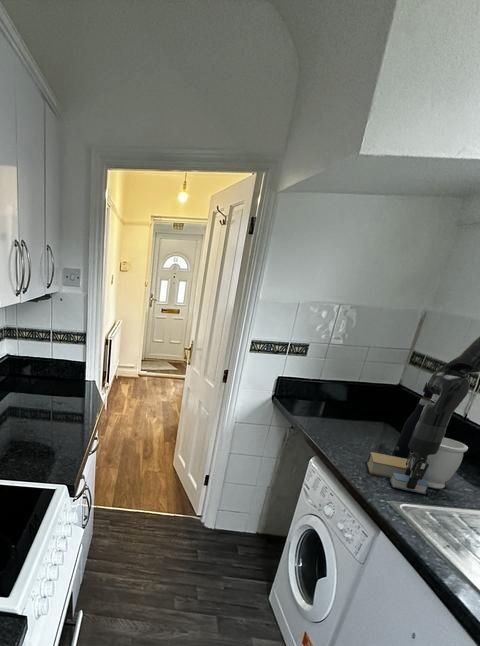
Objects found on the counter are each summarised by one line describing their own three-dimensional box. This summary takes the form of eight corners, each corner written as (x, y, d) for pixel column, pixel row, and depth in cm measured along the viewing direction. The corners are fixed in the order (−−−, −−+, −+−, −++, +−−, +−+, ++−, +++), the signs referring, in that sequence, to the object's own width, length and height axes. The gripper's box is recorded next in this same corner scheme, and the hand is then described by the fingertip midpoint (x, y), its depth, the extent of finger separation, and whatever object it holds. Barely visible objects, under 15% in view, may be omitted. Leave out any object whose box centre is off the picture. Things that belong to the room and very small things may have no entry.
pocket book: (422, 486, 136) (425, 478, 135) (425, 494, 131) (429, 486, 130) (390, 480, 140) (393, 472, 138) (392, 487, 135) (395, 479, 134)
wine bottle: (413, 461, 156) (447, 385, 143) (406, 465, 152) (440, 387, 140) (395, 455, 160) (426, 380, 148) (387, 458, 157) (418, 382, 144)
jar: (453, 493, 134) (474, 452, 127) (416, 486, 137) (435, 445, 130) (441, 479, 143) (460, 439, 137) (406, 472, 146) (423, 433, 140)
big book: (405, 470, 148) (409, 459, 146) (410, 481, 140) (415, 470, 138) (366, 462, 153) (370, 451, 151) (369, 473, 145) (373, 461, 143)
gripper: (448, 447, 121) (426, 497, 128) (436, 432, 133) (417, 478, 140) (417, 441, 124) (398, 490, 131) (408, 427, 136) (391, 473, 143)
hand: (408, 484), depth 135 cm, fingers closed on pocket book, 5 cm apart
